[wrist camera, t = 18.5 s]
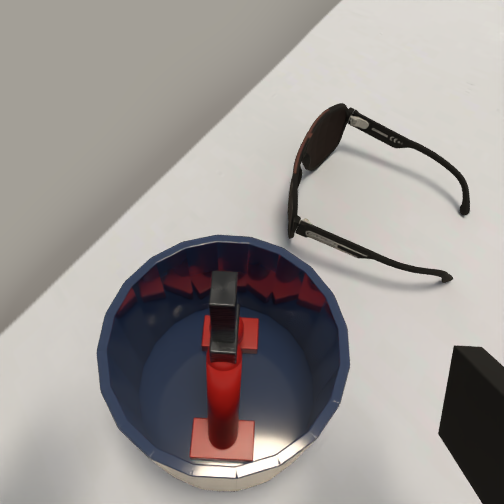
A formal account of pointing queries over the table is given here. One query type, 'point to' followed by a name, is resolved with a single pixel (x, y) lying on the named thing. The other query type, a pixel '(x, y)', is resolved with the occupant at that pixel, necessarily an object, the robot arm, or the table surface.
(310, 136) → the sunglasses
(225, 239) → the pen cup
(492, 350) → the table surface
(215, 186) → the table surface
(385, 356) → the table surface
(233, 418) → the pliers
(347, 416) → the table surface
